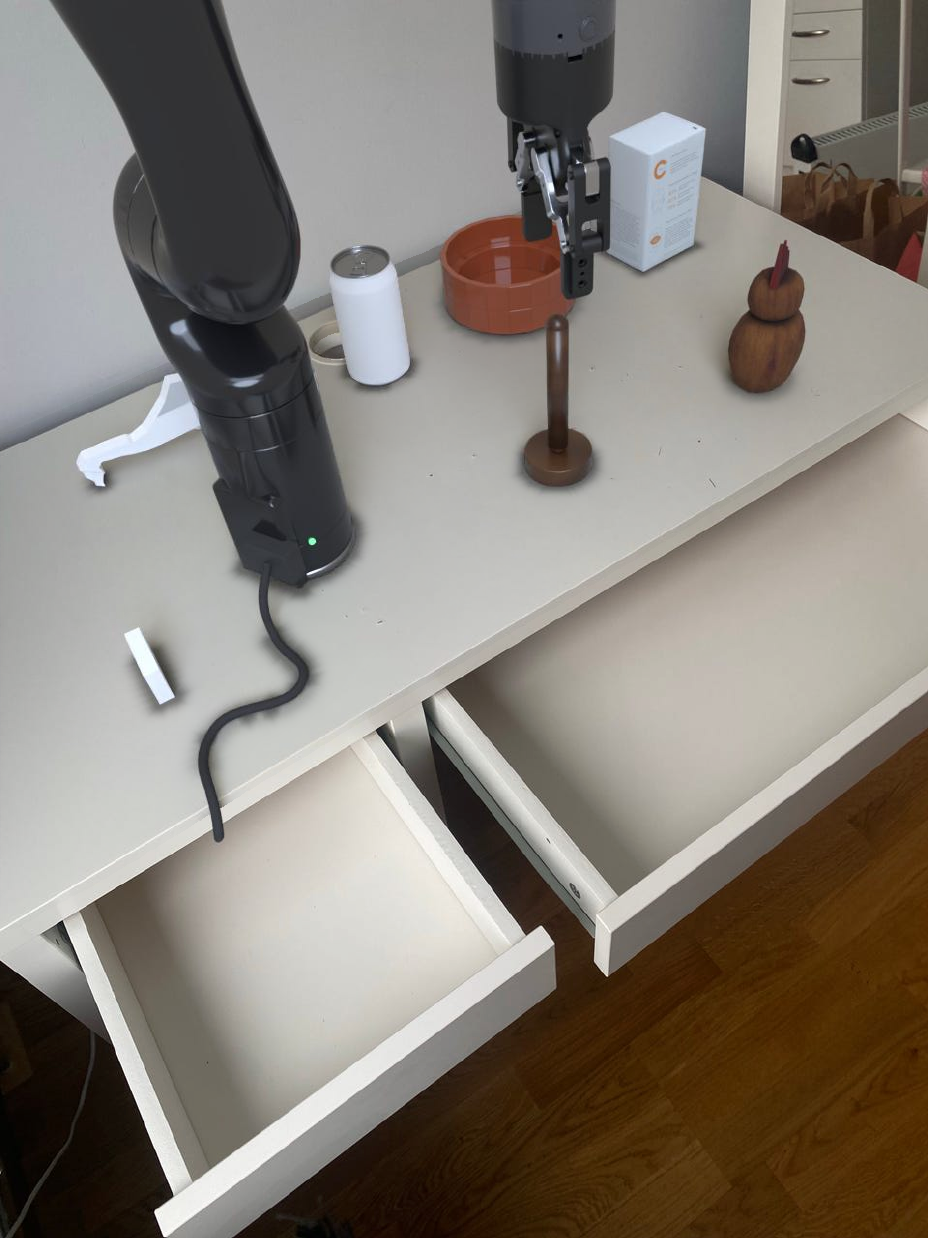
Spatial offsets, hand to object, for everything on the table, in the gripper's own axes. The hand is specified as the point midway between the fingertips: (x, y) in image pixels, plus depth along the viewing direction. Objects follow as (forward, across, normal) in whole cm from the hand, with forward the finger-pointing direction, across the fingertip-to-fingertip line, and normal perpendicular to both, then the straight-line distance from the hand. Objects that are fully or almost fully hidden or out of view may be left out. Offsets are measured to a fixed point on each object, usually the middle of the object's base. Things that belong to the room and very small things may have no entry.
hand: (556, 265), depth 70 cm
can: (+20, -20, -12) cm, 31 cm away
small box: (+20, -30, +22) cm, 42 cm away
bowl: (+20, -27, +4) cm, 33 cm away
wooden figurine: (+20, -4, +22) cm, 30 cm away
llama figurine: (+20, -16, -33) cm, 41 cm away
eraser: (+20, +12, -38) cm, 44 cm away
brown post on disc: (+20, 0, 0) cm, 20 cm away
